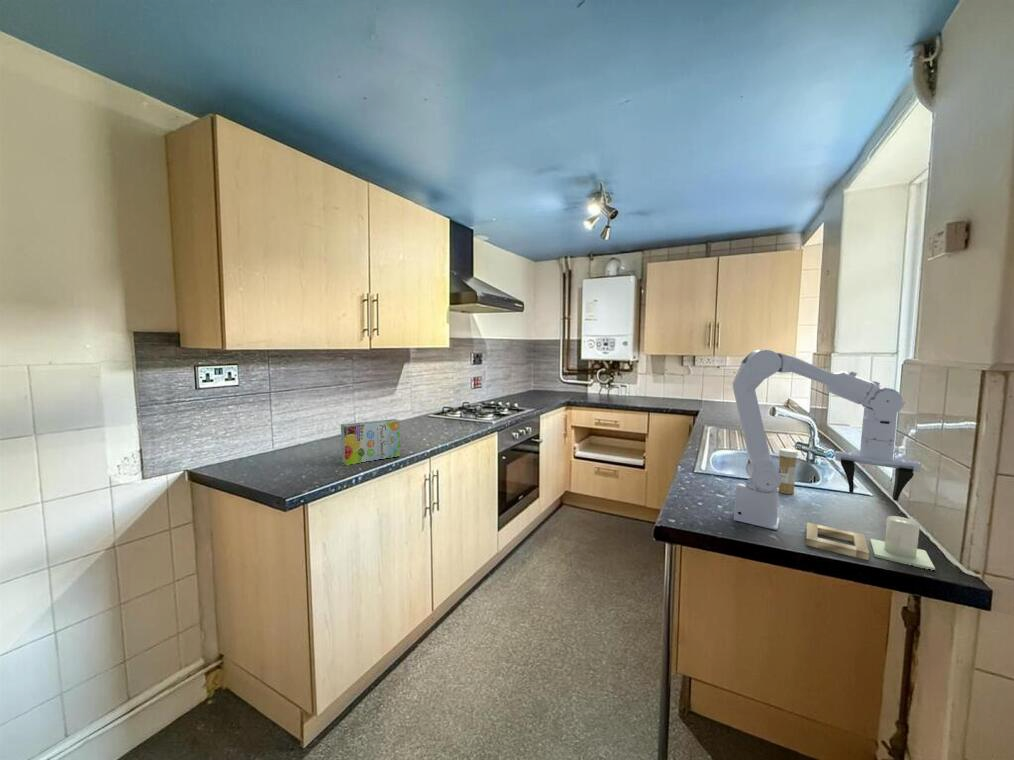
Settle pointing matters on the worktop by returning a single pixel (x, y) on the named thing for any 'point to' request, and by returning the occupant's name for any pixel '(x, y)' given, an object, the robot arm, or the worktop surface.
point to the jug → (901, 536)
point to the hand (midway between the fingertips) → (872, 495)
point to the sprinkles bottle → (787, 470)
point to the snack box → (370, 441)
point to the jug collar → (856, 551)
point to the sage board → (920, 560)
